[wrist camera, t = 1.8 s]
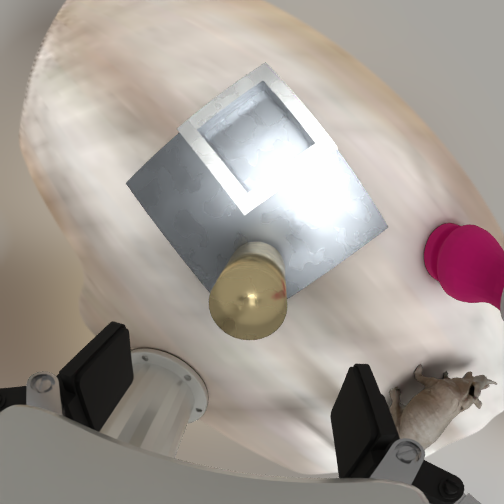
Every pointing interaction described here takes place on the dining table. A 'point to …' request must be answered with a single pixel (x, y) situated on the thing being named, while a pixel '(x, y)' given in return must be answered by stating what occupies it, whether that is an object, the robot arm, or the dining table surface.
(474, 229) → the pepper mill
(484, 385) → the rhinoceros figurine
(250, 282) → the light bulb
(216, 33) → the dining table surface
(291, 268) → the plate
